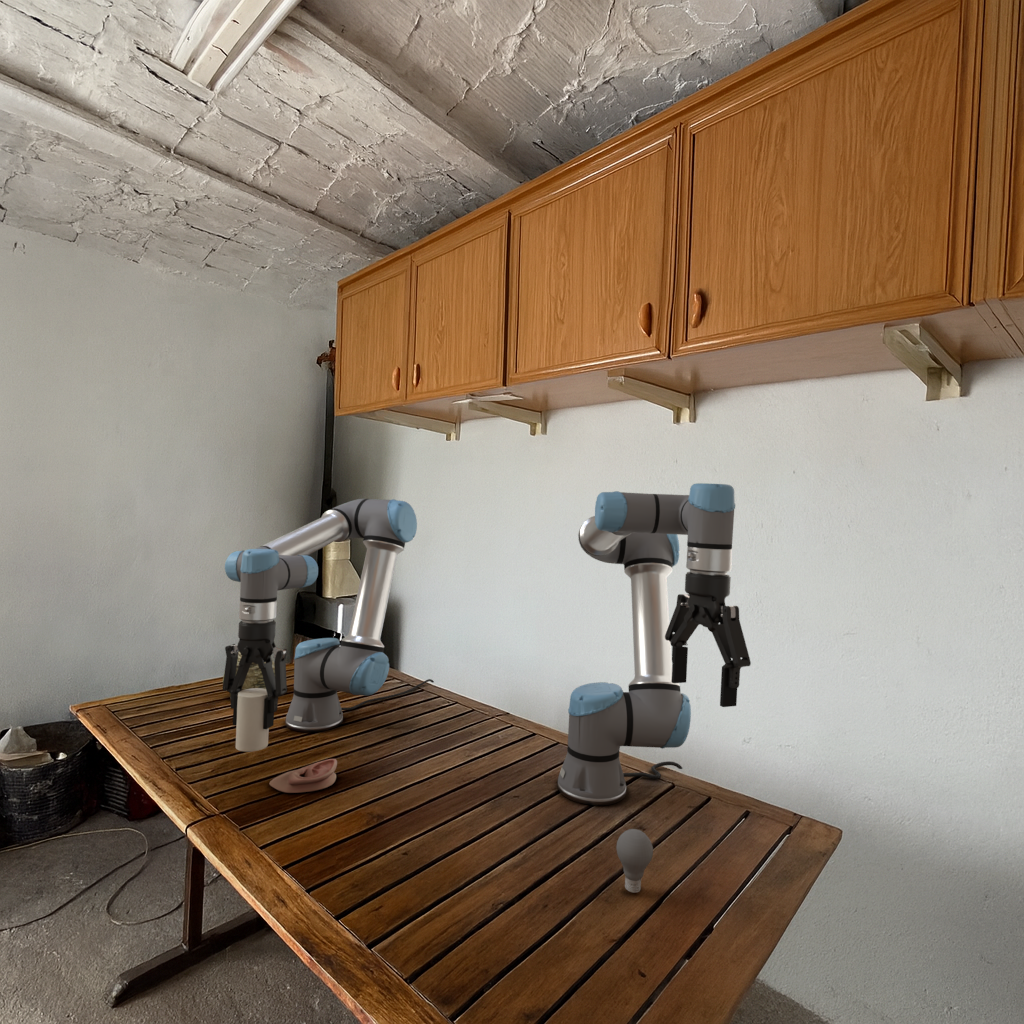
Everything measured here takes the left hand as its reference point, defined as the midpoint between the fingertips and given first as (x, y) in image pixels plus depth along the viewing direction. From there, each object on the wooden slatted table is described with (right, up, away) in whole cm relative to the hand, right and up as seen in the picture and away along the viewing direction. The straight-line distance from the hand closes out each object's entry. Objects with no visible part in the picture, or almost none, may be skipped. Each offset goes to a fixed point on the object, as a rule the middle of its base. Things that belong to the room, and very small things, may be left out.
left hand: (253, 725), depth 138 cm
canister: (0, -5, 0) cm, 5 cm away
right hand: (+90, +15, -28) cm, 95 cm away
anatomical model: (+11, -13, +2) cm, 17 cm away
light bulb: (+77, -17, -33) cm, 85 cm away
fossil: (-24, -11, +60) cm, 65 cm away
